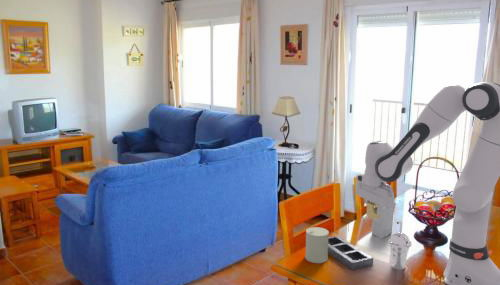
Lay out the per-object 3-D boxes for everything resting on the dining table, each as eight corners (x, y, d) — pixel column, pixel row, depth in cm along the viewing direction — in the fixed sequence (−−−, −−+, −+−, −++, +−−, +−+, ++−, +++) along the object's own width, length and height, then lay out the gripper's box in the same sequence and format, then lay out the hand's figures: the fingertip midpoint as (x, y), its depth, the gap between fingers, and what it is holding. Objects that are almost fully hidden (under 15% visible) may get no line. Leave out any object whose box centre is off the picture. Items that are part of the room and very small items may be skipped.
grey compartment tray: (372, 265, 170) (373, 258, 169) (351, 270, 166) (352, 262, 165) (337, 242, 191) (337, 235, 191) (317, 245, 187) (318, 239, 187)
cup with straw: (414, 268, 167) (418, 219, 163) (398, 274, 163) (401, 223, 159) (397, 259, 174) (400, 212, 170) (381, 265, 170) (384, 216, 166)
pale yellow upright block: (380, 217, 179) (381, 203, 178) (372, 219, 178) (373, 205, 176) (374, 214, 183) (374, 201, 182) (366, 216, 181) (367, 202, 180)
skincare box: (381, 230, 205) (383, 200, 202) (392, 234, 200) (394, 203, 197) (371, 234, 200) (372, 203, 197) (382, 238, 195) (384, 207, 192)
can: (301, 255, 178) (301, 227, 176) (320, 251, 182) (321, 224, 179) (311, 264, 170) (312, 236, 168) (332, 261, 173) (333, 232, 171)
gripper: (399, 185, 169) (397, 219, 172) (366, 173, 187) (364, 203, 190) (386, 187, 167) (384, 221, 169) (354, 174, 185) (352, 205, 188)
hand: (373, 212), depth 180 cm, fingers closed on pale yellow upright block, 4 cm apart
